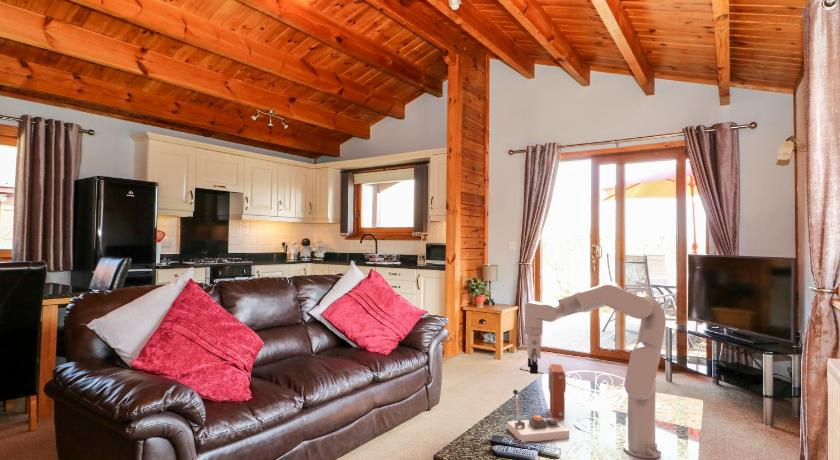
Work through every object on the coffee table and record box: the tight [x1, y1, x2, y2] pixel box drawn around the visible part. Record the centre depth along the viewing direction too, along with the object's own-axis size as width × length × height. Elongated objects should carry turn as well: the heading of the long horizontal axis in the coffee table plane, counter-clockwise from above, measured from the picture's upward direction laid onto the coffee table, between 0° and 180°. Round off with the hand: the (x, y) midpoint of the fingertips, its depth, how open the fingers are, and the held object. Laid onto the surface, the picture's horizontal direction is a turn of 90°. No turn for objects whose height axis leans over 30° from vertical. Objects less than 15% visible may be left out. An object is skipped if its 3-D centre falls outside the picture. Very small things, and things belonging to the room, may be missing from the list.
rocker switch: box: [547, 419, 559, 424], centre depth 195 cm, size 4×3×1 cm
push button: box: [532, 414, 543, 422], centre depth 194 cm, size 4×4×2 cm
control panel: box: [547, 363, 567, 420], centre depth 216 cm, size 21×7×15 cm
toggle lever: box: [512, 389, 523, 426], centre depth 194 cm, size 2×2×14 cm
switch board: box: [506, 417, 570, 443], centre depth 194 cm, size 14×21×6 cm, turn 103°
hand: (532, 370), depth 200 cm, fingers open, 9 cm apart
